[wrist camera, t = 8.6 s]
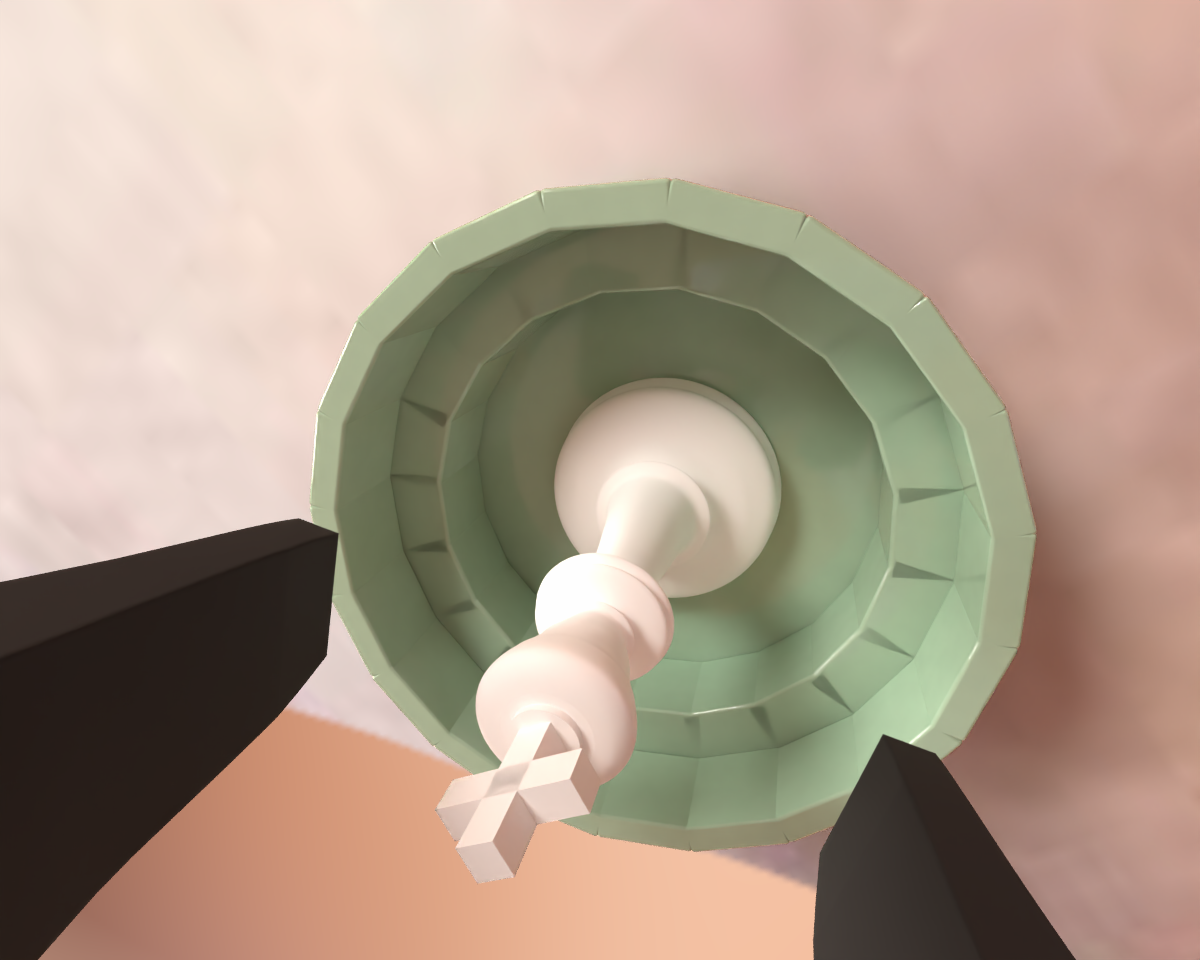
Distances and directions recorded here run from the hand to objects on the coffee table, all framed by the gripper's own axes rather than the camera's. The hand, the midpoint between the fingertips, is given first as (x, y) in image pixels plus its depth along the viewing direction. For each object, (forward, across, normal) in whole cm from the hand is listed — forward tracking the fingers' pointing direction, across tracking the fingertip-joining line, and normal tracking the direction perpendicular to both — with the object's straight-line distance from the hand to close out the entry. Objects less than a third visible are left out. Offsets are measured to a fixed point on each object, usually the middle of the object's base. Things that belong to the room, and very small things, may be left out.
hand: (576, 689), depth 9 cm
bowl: (+8, 0, 0) cm, 8 cm away
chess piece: (+8, 0, 0) cm, 8 cm away
